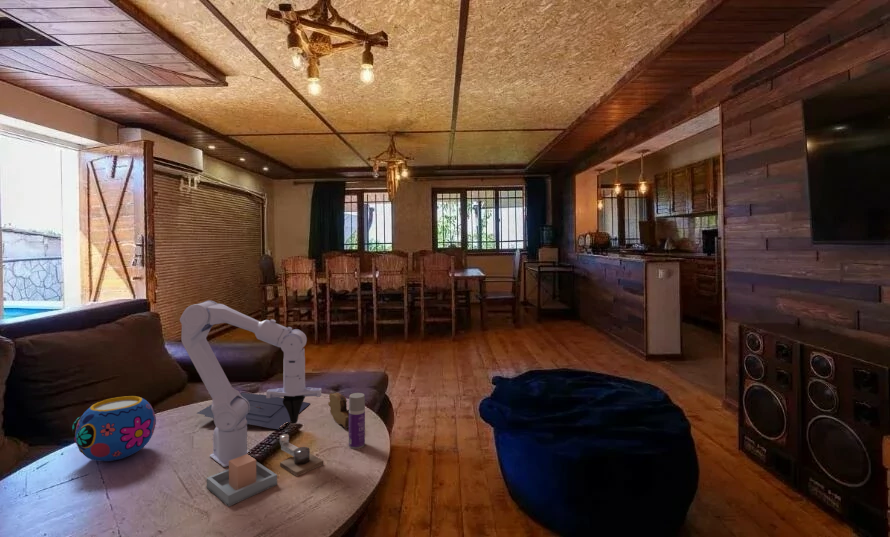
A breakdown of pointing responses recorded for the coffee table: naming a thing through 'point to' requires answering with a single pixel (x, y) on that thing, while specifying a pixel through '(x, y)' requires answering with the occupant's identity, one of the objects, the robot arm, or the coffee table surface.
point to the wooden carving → (339, 409)
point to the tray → (231, 496)
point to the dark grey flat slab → (262, 411)
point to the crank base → (301, 465)
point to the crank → (295, 450)
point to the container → (356, 420)
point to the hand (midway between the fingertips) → (294, 422)
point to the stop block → (242, 471)
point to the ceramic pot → (114, 428)
